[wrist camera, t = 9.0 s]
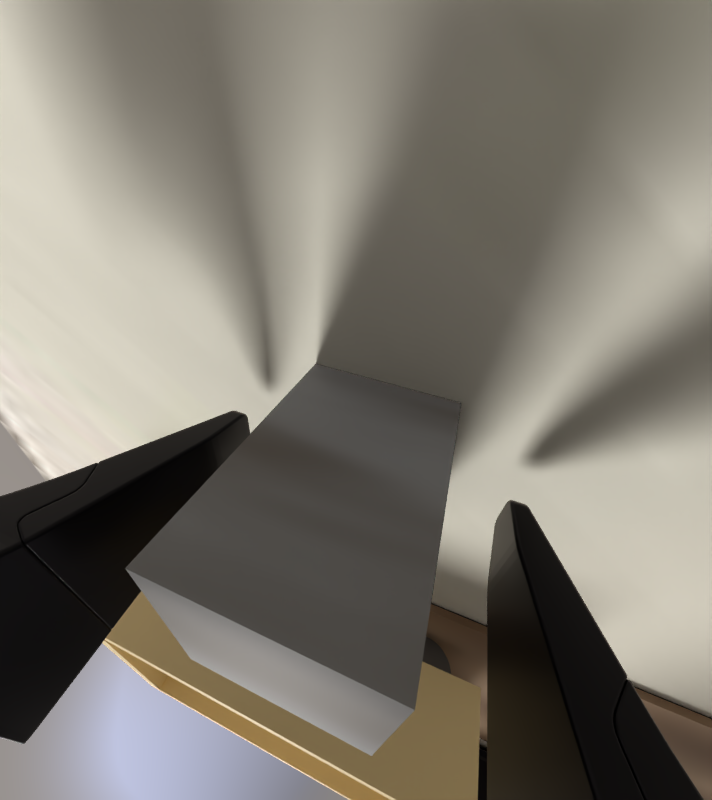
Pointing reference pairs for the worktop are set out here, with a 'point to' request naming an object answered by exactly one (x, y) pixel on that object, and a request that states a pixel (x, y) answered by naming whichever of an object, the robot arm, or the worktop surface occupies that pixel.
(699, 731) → the brown board
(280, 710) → the wooden tray
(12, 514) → the robot arm
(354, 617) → the charcoal block
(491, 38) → the worktop surface
